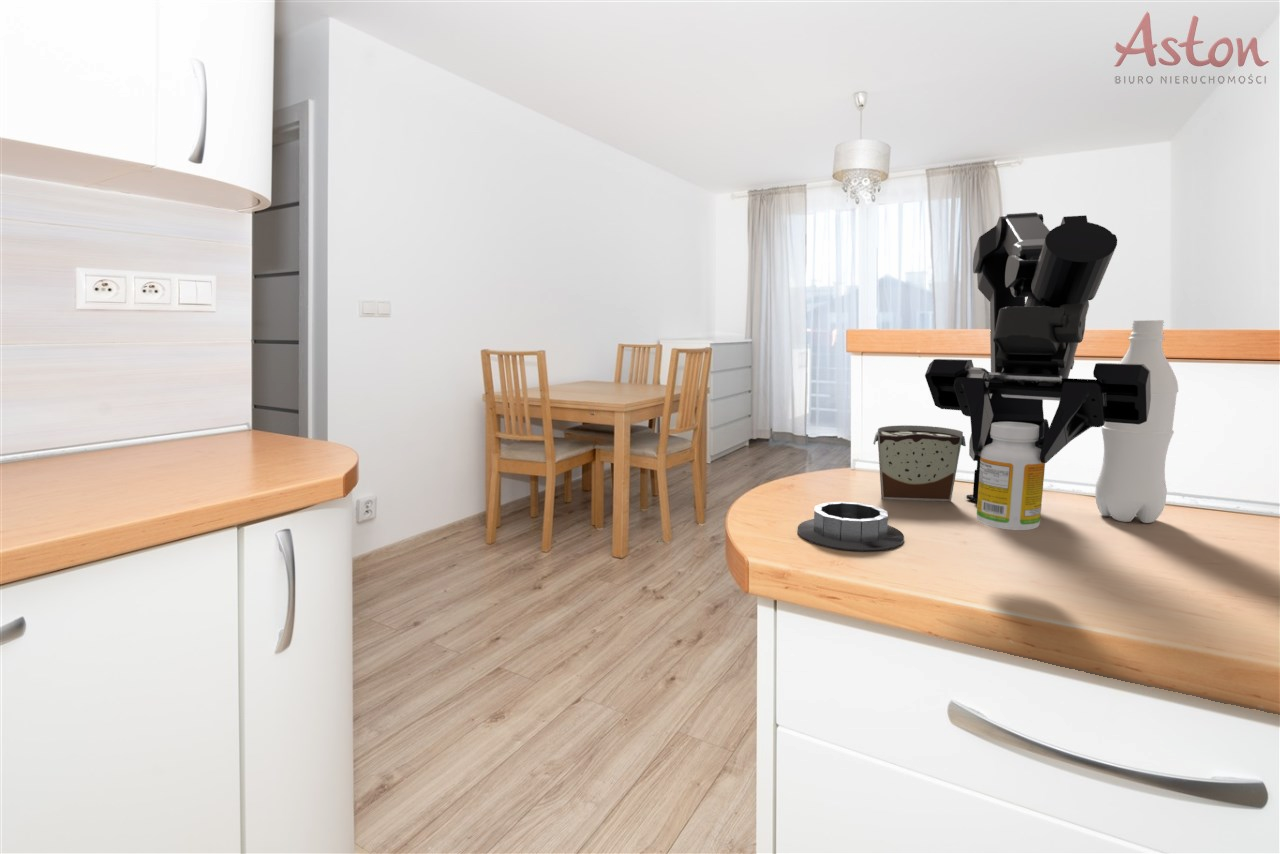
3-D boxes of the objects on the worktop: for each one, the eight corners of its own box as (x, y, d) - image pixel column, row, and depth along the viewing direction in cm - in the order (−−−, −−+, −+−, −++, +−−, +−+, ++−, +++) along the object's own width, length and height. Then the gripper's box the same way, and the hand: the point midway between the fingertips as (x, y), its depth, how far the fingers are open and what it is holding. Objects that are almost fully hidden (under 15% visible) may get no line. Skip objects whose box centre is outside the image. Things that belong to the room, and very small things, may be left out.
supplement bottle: (1031, 517, 64) (1040, 421, 63) (1046, 533, 59) (1056, 429, 58) (971, 512, 66) (978, 419, 64) (981, 528, 61) (988, 427, 59)
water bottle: (1167, 529, 77) (1192, 319, 74) (1095, 520, 81) (1114, 320, 77) (1158, 515, 83) (1180, 320, 80) (1091, 507, 87) (1109, 321, 84)
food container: (948, 490, 97) (952, 425, 95) (962, 501, 91) (966, 431, 89) (863, 488, 99) (866, 424, 97) (871, 498, 93) (874, 430, 91)
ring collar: (865, 516, 83) (866, 495, 83) (926, 546, 72) (928, 521, 72) (780, 524, 81) (781, 501, 80) (830, 555, 69) (831, 529, 69)
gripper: (936, 282, 68) (888, 394, 62) (1161, 270, 55) (1128, 411, 49) (957, 353, 75) (915, 461, 69) (1161, 358, 62) (1132, 491, 56)
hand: (1008, 456), depth 60 cm, fingers closed on supplement bottle, 5 cm apart
